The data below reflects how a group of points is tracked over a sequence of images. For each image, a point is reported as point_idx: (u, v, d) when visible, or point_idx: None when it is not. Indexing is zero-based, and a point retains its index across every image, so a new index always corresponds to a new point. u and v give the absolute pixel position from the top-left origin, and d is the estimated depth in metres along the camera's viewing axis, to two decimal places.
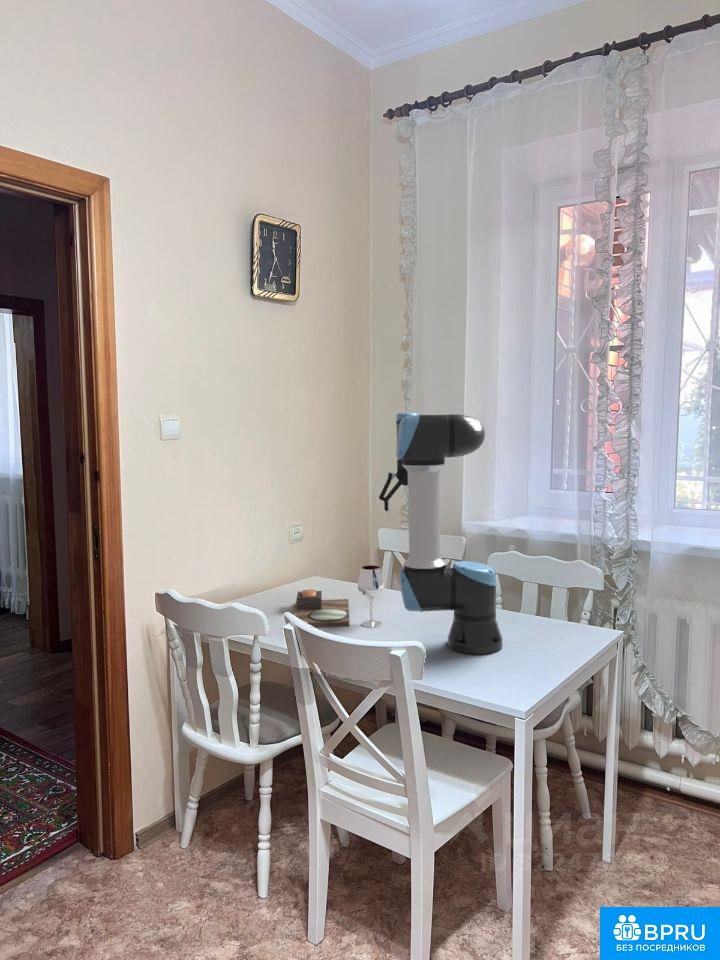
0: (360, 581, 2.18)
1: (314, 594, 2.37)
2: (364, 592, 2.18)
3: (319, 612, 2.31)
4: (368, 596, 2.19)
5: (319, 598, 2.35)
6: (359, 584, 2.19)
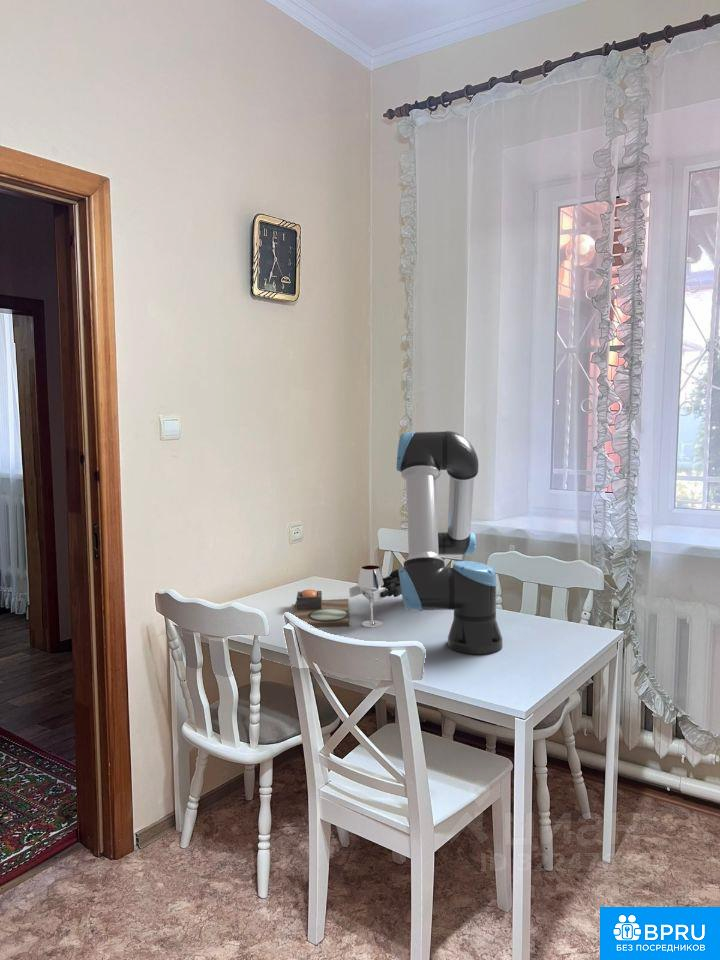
0: (360, 581, 2.18)
1: (314, 594, 2.37)
2: (364, 592, 2.18)
3: (319, 612, 2.31)
4: (368, 596, 2.19)
5: (319, 598, 2.35)
6: (359, 584, 2.19)
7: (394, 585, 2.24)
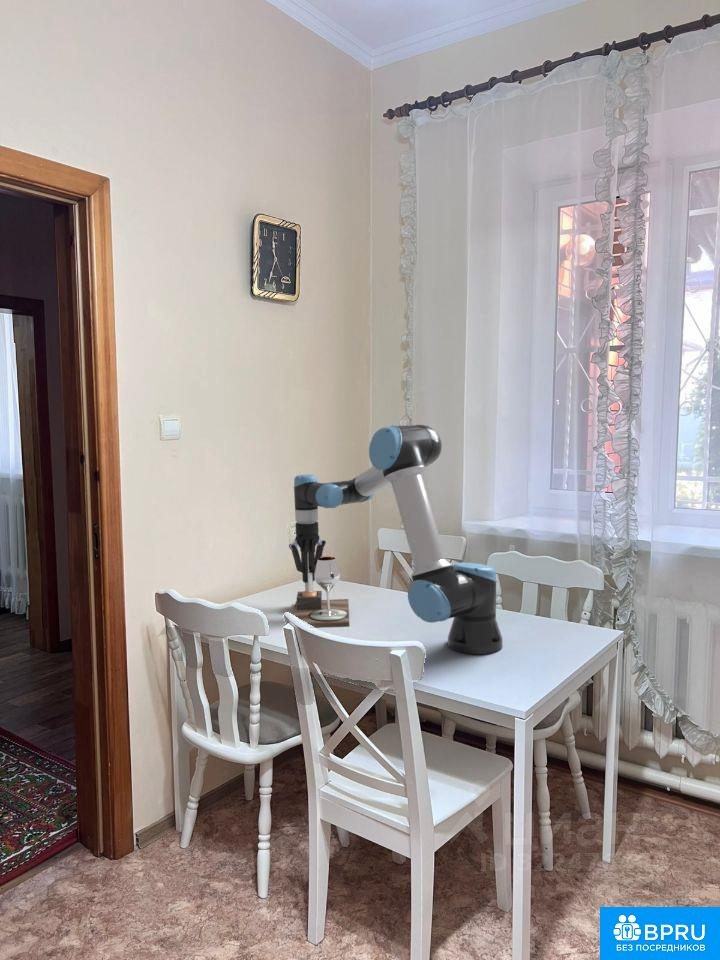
0: (317, 572, 2.25)
1: (314, 595, 2.37)
2: (320, 582, 2.25)
3: (319, 612, 2.31)
4: (324, 586, 2.25)
5: (319, 598, 2.35)
6: (315, 575, 2.26)
7: None
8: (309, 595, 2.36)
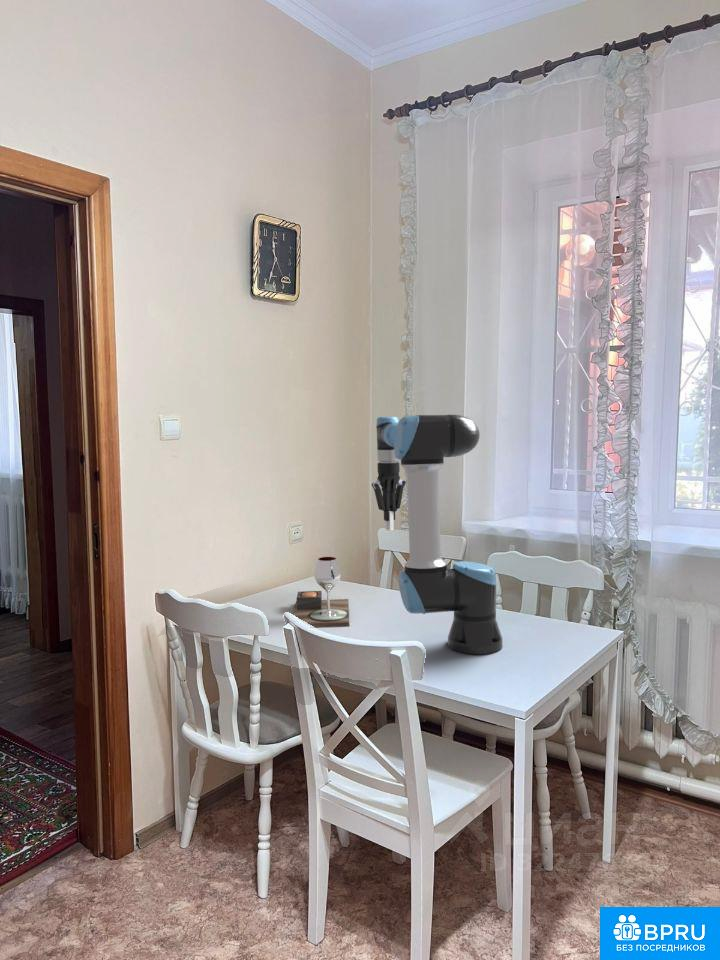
0: (317, 572, 2.25)
1: (314, 596, 2.37)
2: (321, 583, 2.24)
3: (319, 612, 2.31)
4: (325, 586, 2.25)
5: (319, 598, 2.35)
6: (316, 575, 2.25)
7: None
8: None
